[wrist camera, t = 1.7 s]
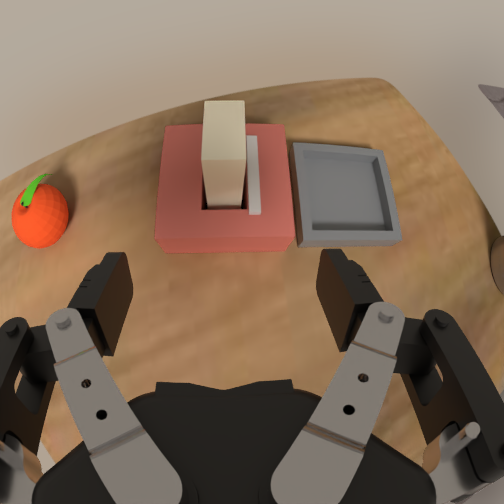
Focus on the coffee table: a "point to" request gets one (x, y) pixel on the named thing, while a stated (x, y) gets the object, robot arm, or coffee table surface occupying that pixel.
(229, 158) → the tall beige block
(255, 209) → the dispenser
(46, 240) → the clementine
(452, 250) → the coffee table surface
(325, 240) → the tray
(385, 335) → the robot arm
